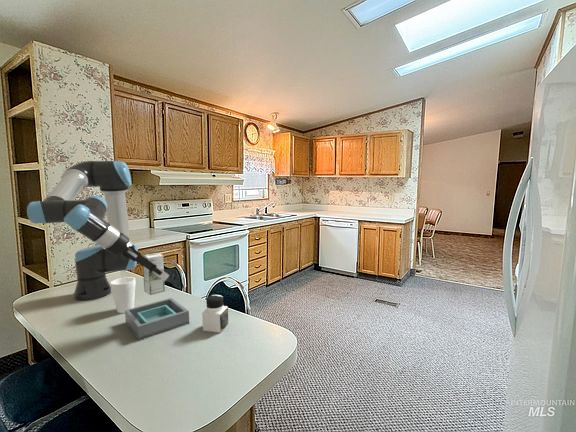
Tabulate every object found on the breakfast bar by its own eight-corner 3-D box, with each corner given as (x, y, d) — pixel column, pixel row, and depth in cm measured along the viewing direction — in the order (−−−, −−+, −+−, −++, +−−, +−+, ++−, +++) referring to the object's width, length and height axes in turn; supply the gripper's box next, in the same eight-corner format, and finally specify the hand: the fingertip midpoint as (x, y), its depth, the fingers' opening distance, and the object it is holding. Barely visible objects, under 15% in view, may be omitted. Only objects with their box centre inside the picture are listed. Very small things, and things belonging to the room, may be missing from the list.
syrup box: (159, 288, 118) (157, 252, 117) (165, 291, 114) (163, 254, 112) (144, 291, 114) (141, 254, 113) (150, 295, 110) (147, 257, 109)
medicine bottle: (221, 333, 108) (219, 301, 106) (202, 331, 109) (201, 299, 108) (228, 323, 115) (227, 293, 113) (211, 322, 116) (210, 292, 115)
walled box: (125, 322, 117) (124, 310, 116) (171, 308, 129) (171, 297, 128) (139, 340, 104) (138, 326, 103) (189, 323, 115) (188, 311, 115)
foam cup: (115, 316, 122) (112, 286, 120) (110, 309, 129) (108, 280, 127) (140, 310, 128) (138, 280, 127) (134, 303, 135) (132, 275, 134)
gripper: (99, 245, 109) (149, 278, 122) (110, 253, 95) (166, 290, 108) (114, 229, 112) (161, 263, 125) (127, 235, 98) (179, 273, 110)
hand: (163, 276), depth 116 cm, fingers closed on syrup box, 6 cm apart
